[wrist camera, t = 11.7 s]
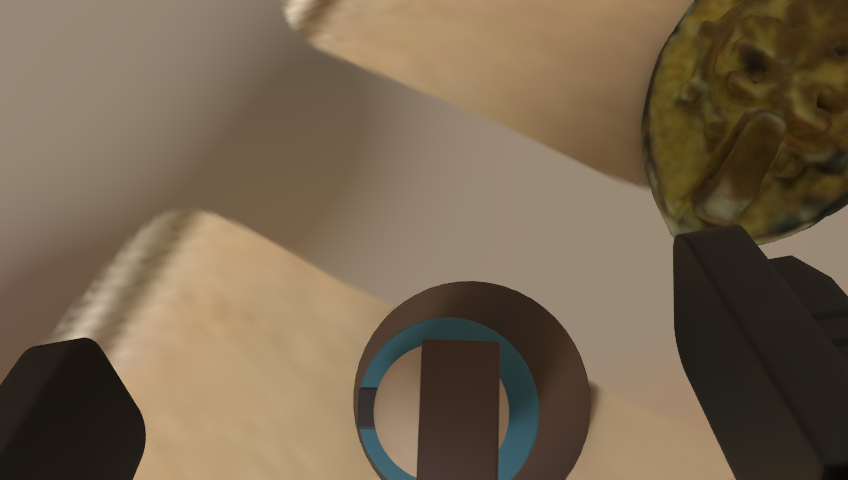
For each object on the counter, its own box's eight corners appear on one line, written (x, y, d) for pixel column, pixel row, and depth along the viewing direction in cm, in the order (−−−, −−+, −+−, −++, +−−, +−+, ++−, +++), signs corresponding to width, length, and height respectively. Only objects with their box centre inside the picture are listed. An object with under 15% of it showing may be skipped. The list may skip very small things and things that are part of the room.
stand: (622, 342, 26) (628, 340, 24) (530, 559, 25) (531, 570, 23) (419, 252, 27) (413, 245, 26) (324, 451, 26) (313, 455, 25)
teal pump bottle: (531, 339, 25) (544, 308, 14) (530, 466, 24) (543, 539, 13) (407, 335, 25) (327, 302, 14) (402, 458, 24) (312, 522, 14)
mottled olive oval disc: (744, -87, 30) (581, 204, 28) (772, -178, 25) (581, 162, 23) (978, -18, 27) (813, 314, 25) (1057, -107, 22) (864, 289, 20)
